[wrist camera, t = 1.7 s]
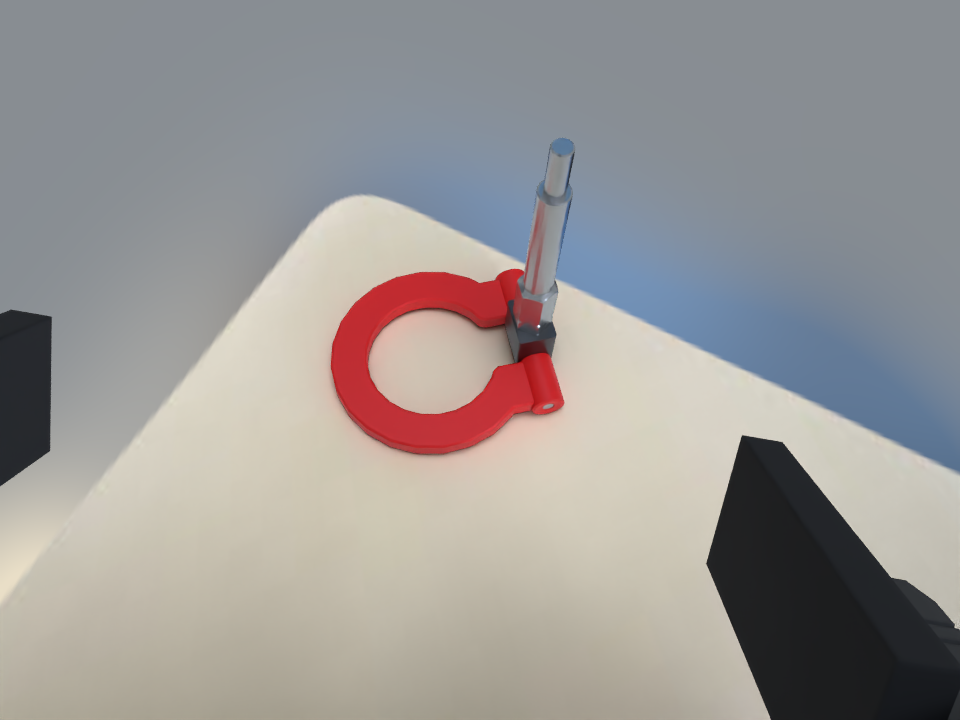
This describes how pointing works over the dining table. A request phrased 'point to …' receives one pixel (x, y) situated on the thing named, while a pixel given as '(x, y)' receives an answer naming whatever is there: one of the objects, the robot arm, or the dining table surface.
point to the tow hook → (502, 301)
